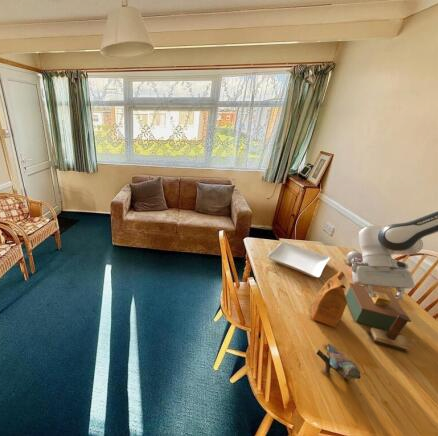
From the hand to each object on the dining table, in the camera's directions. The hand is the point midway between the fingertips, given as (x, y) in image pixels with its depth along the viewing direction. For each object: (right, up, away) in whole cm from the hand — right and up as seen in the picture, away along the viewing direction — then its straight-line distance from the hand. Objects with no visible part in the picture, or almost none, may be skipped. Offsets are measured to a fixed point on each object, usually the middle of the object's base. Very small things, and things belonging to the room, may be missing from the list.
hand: (386, 298), depth 91 cm
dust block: (+4, -4, +6) cm, 8 cm away
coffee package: (-17, -12, +10) cm, 23 cm away
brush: (-1, -17, -1) cm, 17 cm away
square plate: (-5, +6, +47) cm, 48 cm away
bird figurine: (-31, -22, -11) cm, 39 cm away
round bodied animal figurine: (+25, +4, +43) cm, 50 cm away
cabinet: (+4, -11, +11) cm, 16 cm away
